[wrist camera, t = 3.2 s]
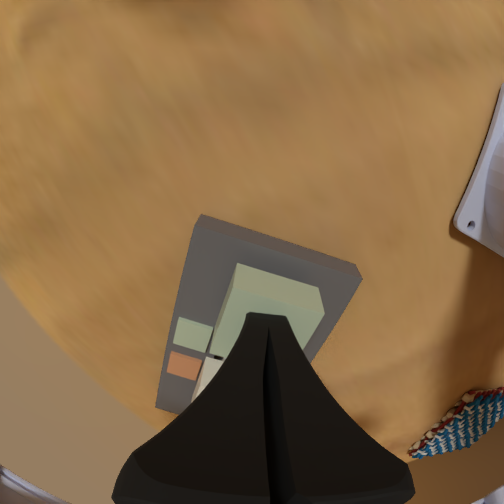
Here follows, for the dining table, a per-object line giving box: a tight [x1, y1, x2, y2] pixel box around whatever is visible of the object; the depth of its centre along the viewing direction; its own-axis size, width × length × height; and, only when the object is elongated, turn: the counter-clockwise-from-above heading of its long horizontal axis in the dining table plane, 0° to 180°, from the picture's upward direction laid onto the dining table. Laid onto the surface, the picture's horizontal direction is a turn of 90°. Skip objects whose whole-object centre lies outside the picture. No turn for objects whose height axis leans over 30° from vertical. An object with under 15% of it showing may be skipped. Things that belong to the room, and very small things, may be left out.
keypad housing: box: [155, 214, 362, 415], centre depth 15 cm, size 7×13×1 cm, turn 162°
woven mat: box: [408, 387, 504, 459], centre depth 20 cm, size 10×11×2 cm
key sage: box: [209, 263, 325, 358], centre depth 12 cm, size 3×3×3 cm
